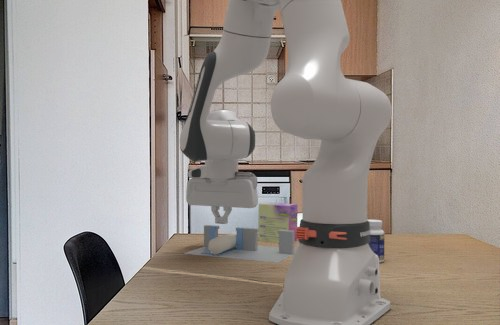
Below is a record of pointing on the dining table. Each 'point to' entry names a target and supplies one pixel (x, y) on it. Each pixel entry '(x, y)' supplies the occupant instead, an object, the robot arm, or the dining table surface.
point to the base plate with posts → (249, 245)
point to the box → (276, 220)
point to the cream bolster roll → (223, 243)
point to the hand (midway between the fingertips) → (221, 223)
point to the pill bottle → (377, 239)
